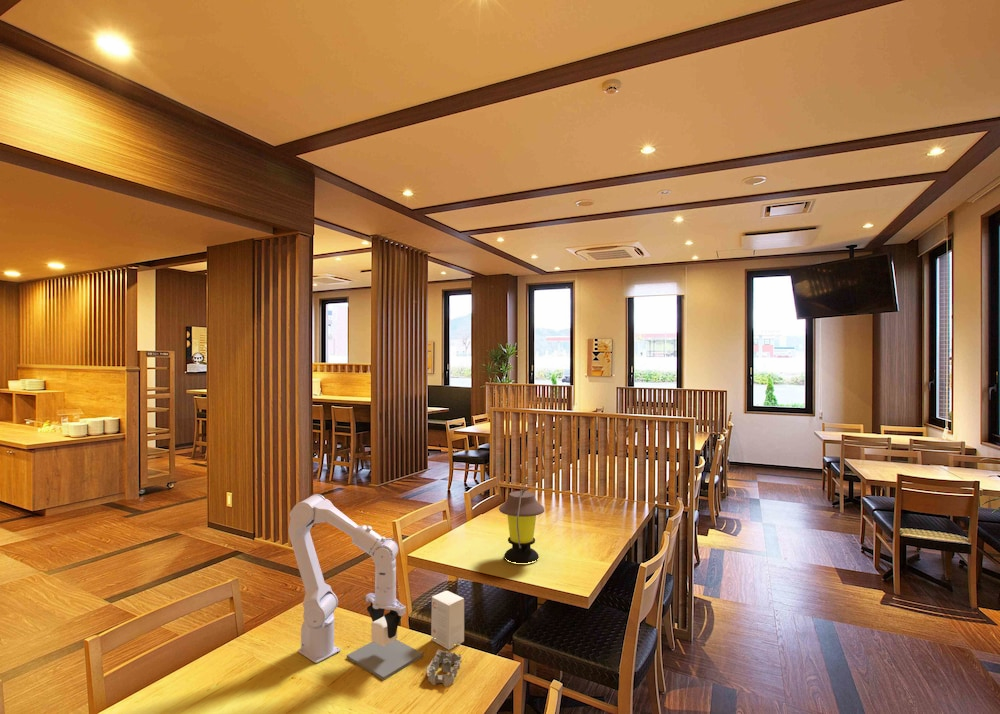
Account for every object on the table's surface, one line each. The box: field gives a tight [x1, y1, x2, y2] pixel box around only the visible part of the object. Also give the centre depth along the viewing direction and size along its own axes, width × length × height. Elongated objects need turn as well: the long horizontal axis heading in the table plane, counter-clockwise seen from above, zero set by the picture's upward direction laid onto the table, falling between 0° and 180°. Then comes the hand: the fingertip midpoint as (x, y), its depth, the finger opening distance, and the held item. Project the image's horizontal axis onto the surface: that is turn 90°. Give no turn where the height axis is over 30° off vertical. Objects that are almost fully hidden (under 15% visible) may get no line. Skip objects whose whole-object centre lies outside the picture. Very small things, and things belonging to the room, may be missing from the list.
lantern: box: [498, 484, 545, 563], centre depth 217 cm, size 25×19×30 cm
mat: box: [346, 639, 424, 681], centre depth 144 cm, size 16×14×1 cm
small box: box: [430, 590, 465, 651], centre depth 153 cm, size 8×6×13 cm
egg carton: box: [426, 649, 462, 687], centre depth 137 cm, size 11×8×4 cm
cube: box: [370, 616, 398, 646], centre depth 144 cm, size 5×5×5 cm
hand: (385, 633), depth 144 cm, fingers closed on cube, 5 cm apart
